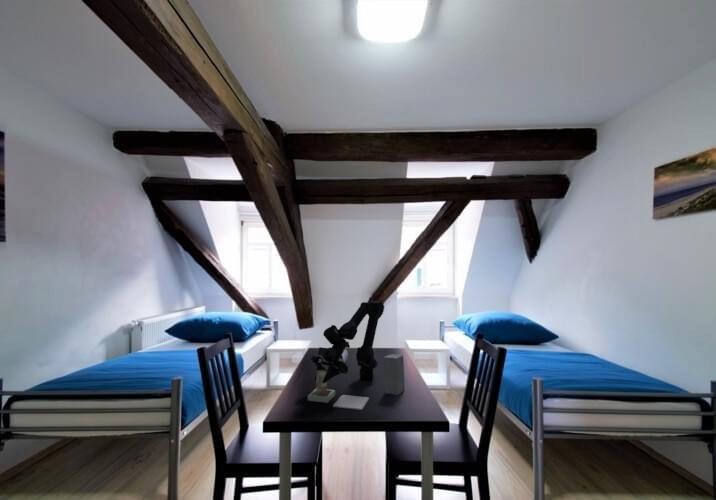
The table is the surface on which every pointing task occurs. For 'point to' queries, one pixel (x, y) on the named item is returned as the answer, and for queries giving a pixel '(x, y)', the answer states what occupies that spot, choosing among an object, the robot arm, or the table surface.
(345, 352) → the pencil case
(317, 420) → the table surface
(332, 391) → the green collar
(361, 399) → the rubber mat
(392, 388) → the skincare box
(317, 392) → the ash peg
